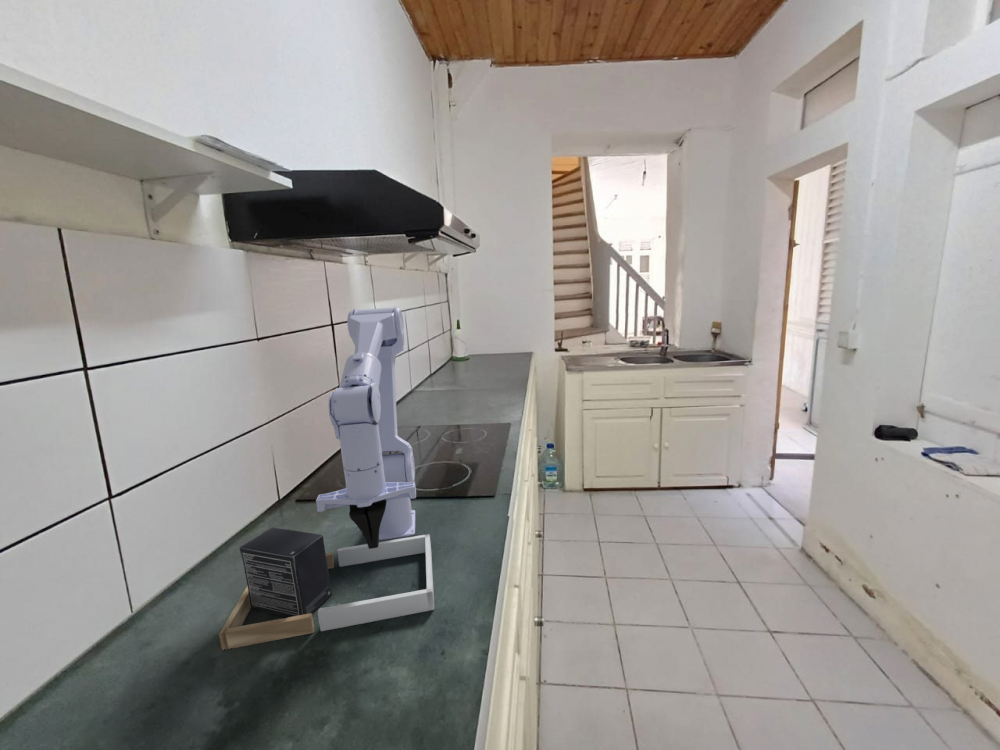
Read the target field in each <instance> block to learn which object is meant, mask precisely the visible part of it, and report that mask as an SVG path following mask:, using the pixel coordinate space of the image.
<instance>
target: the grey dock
mask: <svg viewBox="0 0 1000 750" xmlns="http://www.w3.org/2000/svg"><path fill="white" fill-rule="evenodd" d="M430 534H431V533H427V534H422V535H416V536H414V535H413V536H406V537H400V538H394V539H388V540H382V541H379V545H378V548H372V549H369V547H368V544H367V543H365V544H359V545H353V546H347V547H345V546H344V547H340V548H339V547H338V549H337V550H336V553H337V559H338V566H339V567H340V568H341V567H346V566H347V567H348V566H353V565H358V564H359V565H360V564H365V563H371V562H378V561H383V560H389V559H395V558H400V557H406V556H412V555H413V556H414V555H418V554H425V574H426V575H425V576H426V588H425V589H420V590H419V589H418V590H415V591H414V590H413V591H410V592H403V593H397V594H392V595H387V596H386V595H385V596H381V597H376V598H375V597H374V598H371V599H363V600H359V601H354V602H353V601H352V602H348V603H343V604H337V605H331V606H326V607H320V608H318V610H317V616H318V623H319V628H320V629H319V630H320V632H325V631H330V630H331V631H332V630H335V629H342V628H346V627H350V626H351V627H352V626H355V625H357V626H358V625H362V624H367V623H372V622H377V621H378V622H379V621H382V620H387V619H394V618H398V617H404V616H408V615H409V616H410V615H413V614H418V613H424V612H429V611H434V610H435V597H434V595H435V594H434V579H433V560H432V559H433V558H432V544H431V535H430Z"/></svg>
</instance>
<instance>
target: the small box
mask: <svg viewBox="0 0 1000 750" xmlns="http://www.w3.org/2000/svg"><path fill="white" fill-rule="evenodd" d="M325 547H326V546H325V542H324V535H323V534H320V533H311V532H306V531H305V532H303V531H299V530H291V529H285V528H279V527H270V528H269V529H268V530H266V531H264V532H263V533H261V534H259V535H258V536H256V537H255V538H253V539H251V540H250V541H248V542H247V543H244V544H243V545H241V546H240V547H239V551H240V554H241V559H242V563H243V569H244V575H245V580H246V585H247V586H248V592H249V597H250V603H251V609H250V610H254V611H257V612H262V613H267V614H270V615H275V616H278V617H283V618H288V617H293V616H299V615H304V614H310V613H312V614H313V613H314V612H315V611H316V610H317V609H319V607H321V606H322V604H323V603H324V602H326V601H327V600H328V599H329V598H330V597H331V596H332V587H331V581H330V580H331V579H330V573H329V569H328V567H327V560H326V553H327V552H326V548H325ZM247 586H246V587H247Z"/></svg>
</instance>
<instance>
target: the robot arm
mask: <svg viewBox="0 0 1000 750" xmlns="http://www.w3.org/2000/svg"><path fill="white" fill-rule="evenodd" d="M346 320H347V330H348V334H349V337H350V339H351V341H352V343H353V344H354V353H353V354H351V355H349V356H348V357H347V358H346V359H345V364H344V368H343V372H342V375H341V378H340V383H339V387H337V388H336V389H335V391H331V393H330V395H329V398H328V414H329V415H328V416H329V420H330V422H331V425H333V430H334V437H336V438H335V439H337V440H339V446H340V452H341V453H340V454H341V461H342V466H343V473H344V480H345V488H342V489H339V490H338V489H337V490H336V491H330V492H328V493H321V494H320V493H319V494H318V496H317V497H316V500H315V504H316V509H317V510H316V511H317V513H321V512H325V511H326V510H328V509H335V508H343V507H349V513H348V516H349V518H350V520H352V522H353V523H354V524H355V525H356V526H357V527H358V529H359V531H360V532H361V534H362V536H363V537H364V540H365V542H366V544H368V547H369V549H372V548H378V545H379V542H382V541H388V540H394V539H400V538H407V537H413V536H414V535H416V510H415V509H412V502H411V499H412V500H413V499H416V498H417V488H416V481H415V478H416V466H415V464H416V463H415V458H414V453H413V447H412V445H411V444H410V442H408V441H407V440H404V439H403V438H401V437H400V436H399V434H398V433H399V432H398V416H397V415H398V412H397V398H396V397H397V394H396V393H397V392H396V373H395V371H396V369H395V364H396V357H397V355H398V354H400V353H401V352H403V351H404V349H405V348H404V346H405V330H404V317H403V312H402V310H401V309H400V308H399V306H394V307H385V308H384V307H380V308H368V309H365V308H364V309H355V308H354V309H351V310H350V311H349V312H348V314H347V319H346ZM391 452H394V453H391ZM395 452H397V453H395ZM383 453H386V454H383ZM387 453H388V454H387ZM389 453H390V454H389Z"/></svg>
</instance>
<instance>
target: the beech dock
mask: <svg viewBox="0 0 1000 750" xmlns="http://www.w3.org/2000/svg"><path fill="white" fill-rule="evenodd" d="M325 553H326V560H327V567H328V570H329V569H334V567H335V560H334V554H333V552H332V551H331V552H325ZM251 610H252V609H251V603H250V597H249V592H248V586H246V588H245V589H244V591H243V593H242V595H241V596H240V598H239V600H238V601H237V602H236V605H235V606H234V608H233V609H232V611H231V613H230V615H229V617H228V618H227V620H226V621H225V623H224V625H223V627H222V628H221V630H220V632H219V633H218V637H219V642H220V647H221V651H226V650H230V649H231V648H232V649H237V648H241V647H247V646H251V645H252V646H253V645H257V644H263V643H267V642H272V641H273V642H274V641H277V640H283V639H287V638H288V639H289V638H293V637H297V636H304V635H309V634H313V633H314V632H315V625H314V624H315V623H314V618H313V617H314V616H313V613H310V614H304V615H299V616H293V617H288V618H286V617H283V618H277V619H273V620H267V621H262V622H257V623H250V624H246V625H243V623H244V622H245V620H246V619H247V616H248V614H249V612H250V611H251ZM224 649H225V650H224Z"/></svg>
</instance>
